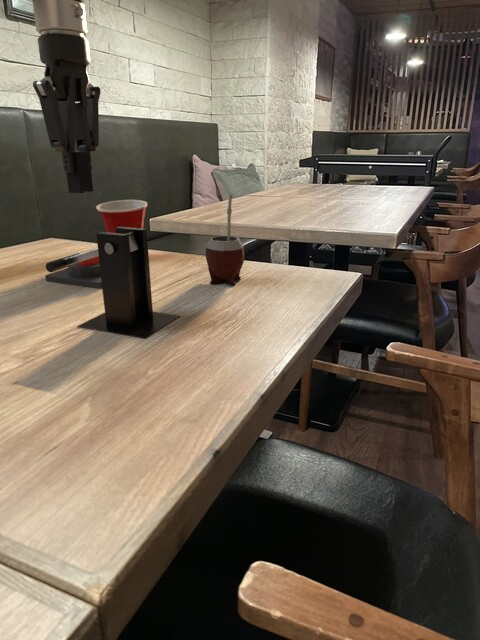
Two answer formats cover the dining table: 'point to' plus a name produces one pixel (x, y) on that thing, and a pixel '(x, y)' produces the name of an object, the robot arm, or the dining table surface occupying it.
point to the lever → (83, 257)
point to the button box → (78, 276)
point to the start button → (90, 262)
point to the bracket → (126, 287)
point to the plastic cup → (122, 214)
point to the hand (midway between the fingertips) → (81, 191)
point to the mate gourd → (225, 256)
